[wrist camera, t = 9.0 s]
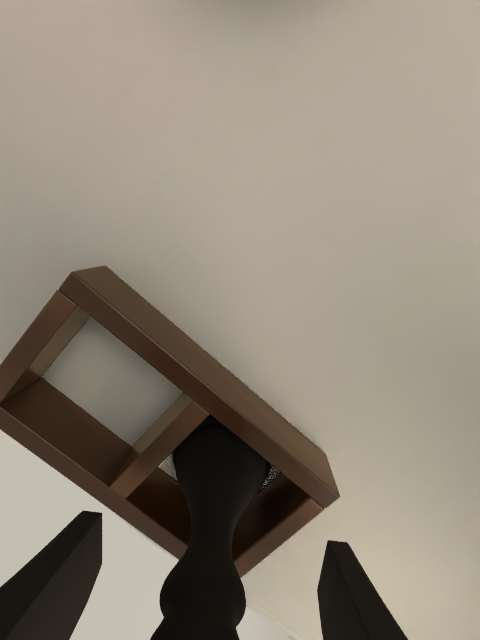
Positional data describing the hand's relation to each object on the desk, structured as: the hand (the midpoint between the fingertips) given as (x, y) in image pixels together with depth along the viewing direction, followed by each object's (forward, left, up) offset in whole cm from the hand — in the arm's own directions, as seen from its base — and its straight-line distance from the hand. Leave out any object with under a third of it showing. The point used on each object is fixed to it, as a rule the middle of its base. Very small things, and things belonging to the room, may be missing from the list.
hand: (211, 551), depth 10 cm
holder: (+2, +2, -5) cm, 5 cm away
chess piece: (0, 0, -5) cm, 5 cm away
